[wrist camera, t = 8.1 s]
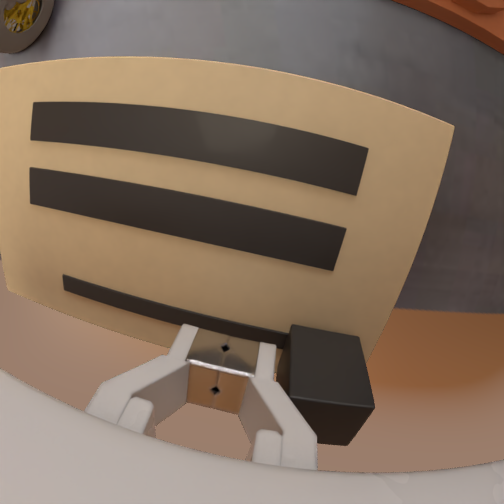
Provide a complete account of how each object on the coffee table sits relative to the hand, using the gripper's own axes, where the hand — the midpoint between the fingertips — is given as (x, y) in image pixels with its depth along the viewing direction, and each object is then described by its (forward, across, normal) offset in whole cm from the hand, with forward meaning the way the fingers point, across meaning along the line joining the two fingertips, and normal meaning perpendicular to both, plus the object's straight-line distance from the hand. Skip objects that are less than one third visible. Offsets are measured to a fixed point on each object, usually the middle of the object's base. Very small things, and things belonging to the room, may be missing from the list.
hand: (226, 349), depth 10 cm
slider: (+1, -3, 0) cm, 3 cm away
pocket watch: (+12, +21, -14) cm, 28 cm away
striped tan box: (+12, +3, -3) cm, 13 cm away
